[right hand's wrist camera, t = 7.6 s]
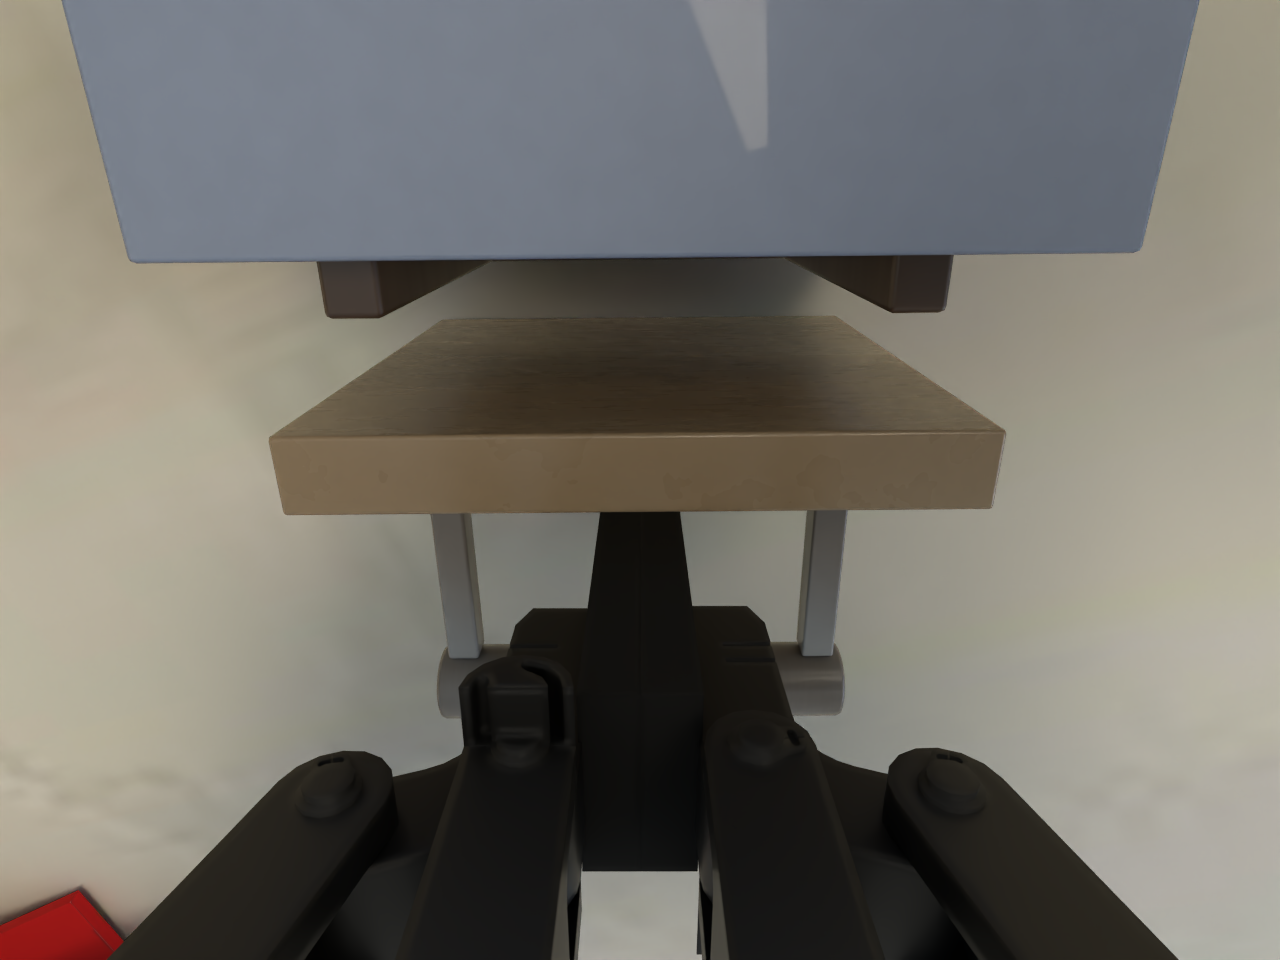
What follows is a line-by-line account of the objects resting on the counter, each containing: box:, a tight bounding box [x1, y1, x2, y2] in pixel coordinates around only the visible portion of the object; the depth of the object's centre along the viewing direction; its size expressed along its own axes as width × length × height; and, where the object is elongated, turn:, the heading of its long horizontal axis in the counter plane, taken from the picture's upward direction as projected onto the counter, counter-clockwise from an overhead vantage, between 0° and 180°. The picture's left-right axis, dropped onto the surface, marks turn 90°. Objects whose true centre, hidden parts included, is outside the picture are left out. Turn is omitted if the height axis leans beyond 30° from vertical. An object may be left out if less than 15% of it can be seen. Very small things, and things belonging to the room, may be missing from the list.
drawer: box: [269, 255, 1006, 718], centre depth 13 cm, size 24×10×10 cm, turn 1°
